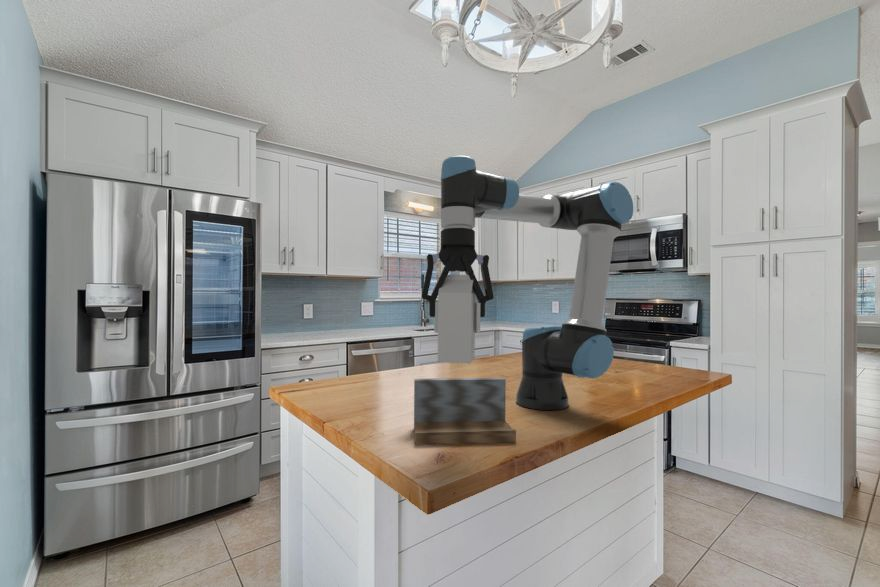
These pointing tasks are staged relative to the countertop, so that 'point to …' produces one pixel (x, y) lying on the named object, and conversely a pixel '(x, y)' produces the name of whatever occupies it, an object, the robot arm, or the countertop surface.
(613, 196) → the robot arm
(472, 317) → the milk carton
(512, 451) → the countertop surface
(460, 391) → the wall board
